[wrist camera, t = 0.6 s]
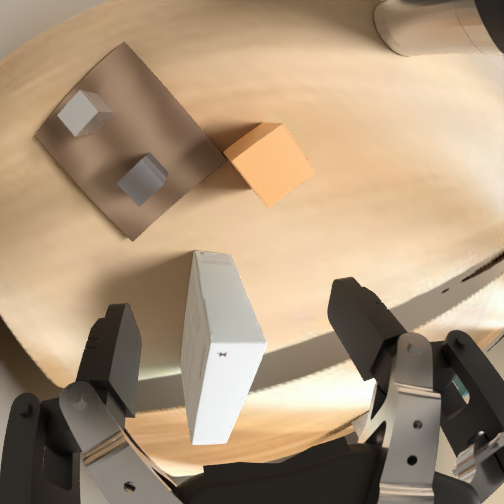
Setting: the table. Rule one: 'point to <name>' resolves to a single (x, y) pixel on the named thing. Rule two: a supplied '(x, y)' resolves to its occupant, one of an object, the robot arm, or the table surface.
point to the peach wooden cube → (269, 161)
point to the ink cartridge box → (360, 424)
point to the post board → (132, 145)
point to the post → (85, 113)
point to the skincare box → (217, 347)
